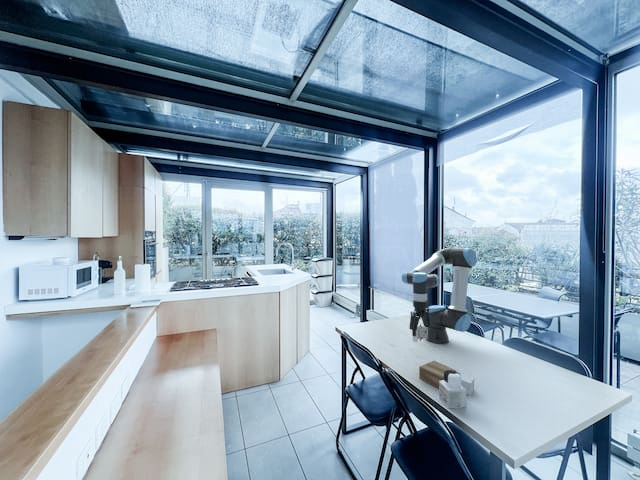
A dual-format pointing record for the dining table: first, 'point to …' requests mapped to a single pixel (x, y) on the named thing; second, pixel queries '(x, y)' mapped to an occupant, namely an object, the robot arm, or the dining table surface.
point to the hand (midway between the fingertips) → (420, 339)
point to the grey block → (467, 384)
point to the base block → (433, 373)
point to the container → (452, 390)
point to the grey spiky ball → (422, 332)
